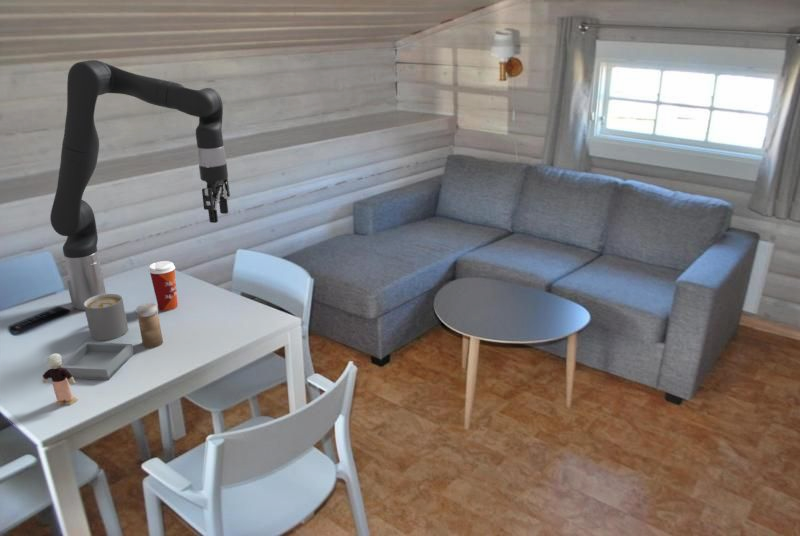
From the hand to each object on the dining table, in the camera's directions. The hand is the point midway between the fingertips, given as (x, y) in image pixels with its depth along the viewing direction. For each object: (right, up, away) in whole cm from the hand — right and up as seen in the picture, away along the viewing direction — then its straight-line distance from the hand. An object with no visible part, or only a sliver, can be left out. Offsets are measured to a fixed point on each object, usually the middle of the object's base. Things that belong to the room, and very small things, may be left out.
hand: (219, 217), depth 186 cm
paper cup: (-19, -27, +13) cm, 36 cm away
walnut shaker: (-16, -35, -9) cm, 40 cm away
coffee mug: (-31, -33, -1) cm, 45 cm away
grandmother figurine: (-27, -46, -35) cm, 64 cm away
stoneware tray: (-26, -40, -20) cm, 51 cm away
